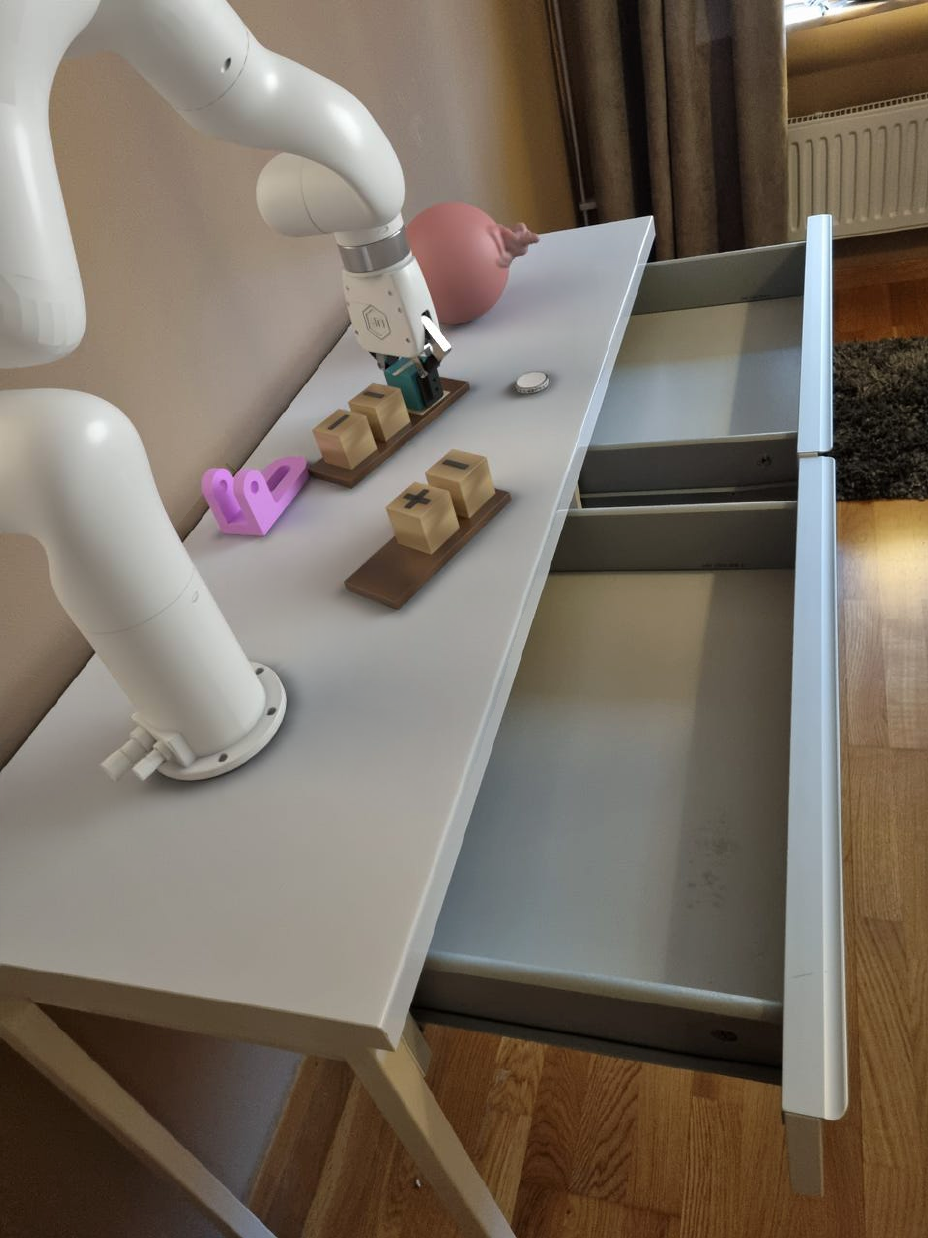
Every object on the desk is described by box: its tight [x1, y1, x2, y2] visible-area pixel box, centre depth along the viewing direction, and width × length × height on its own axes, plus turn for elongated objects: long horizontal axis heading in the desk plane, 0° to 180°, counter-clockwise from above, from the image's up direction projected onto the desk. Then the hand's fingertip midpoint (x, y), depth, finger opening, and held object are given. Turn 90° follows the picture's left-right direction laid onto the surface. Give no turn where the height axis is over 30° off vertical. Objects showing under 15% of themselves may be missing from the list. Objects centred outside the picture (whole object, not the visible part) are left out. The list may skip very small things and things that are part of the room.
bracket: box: [200, 455, 311, 537], centre depth 99 cm, size 13×6×7 cm, turn 159°
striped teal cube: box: [382, 352, 427, 410], centre depth 107 cm, size 5×4×5 cm
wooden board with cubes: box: [343, 448, 512, 611], centre depth 86 cm, size 18×7×6 cm, turn 141°
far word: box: [308, 376, 471, 489], centre depth 105 cm, size 22×7×6 cm, turn 141°
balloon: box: [405, 201, 541, 325], centre depth 119 cm, size 15×20×15 cm
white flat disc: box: [514, 371, 550, 394], centre depth 107 cm, size 4×4×1 cm
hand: (417, 396), depth 108 cm, fingers closed on striped teal cube, 4 cm apart
